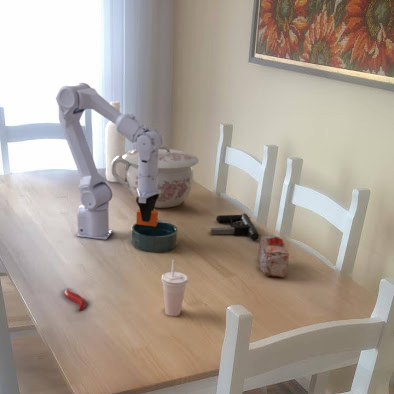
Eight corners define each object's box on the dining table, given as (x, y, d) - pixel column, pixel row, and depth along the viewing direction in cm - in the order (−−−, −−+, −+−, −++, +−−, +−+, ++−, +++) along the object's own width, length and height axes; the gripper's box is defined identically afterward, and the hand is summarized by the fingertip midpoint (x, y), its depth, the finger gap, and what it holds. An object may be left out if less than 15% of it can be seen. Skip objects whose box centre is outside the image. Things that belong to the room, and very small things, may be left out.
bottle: (103, 181, 234) (102, 102, 218) (109, 176, 240) (108, 99, 225) (122, 183, 233) (122, 104, 217) (127, 178, 240) (127, 101, 224)
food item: (288, 279, 164) (294, 247, 159) (261, 279, 163) (265, 246, 158) (278, 260, 175) (283, 230, 170) (252, 260, 175) (257, 229, 169)
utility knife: (136, 224, 174) (136, 211, 172) (138, 221, 176) (138, 208, 174) (165, 227, 173) (165, 214, 171) (167, 224, 176) (167, 212, 173)
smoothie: (159, 306, 145) (161, 254, 138) (184, 306, 146) (188, 255, 138) (160, 318, 140) (162, 265, 132) (186, 318, 140) (190, 266, 133)
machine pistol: (214, 234, 184) (263, 232, 186) (205, 213, 201) (250, 211, 203) (214, 243, 186) (262, 241, 188) (205, 222, 203) (249, 220, 204)
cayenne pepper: (88, 310, 141) (88, 303, 140) (69, 311, 139) (68, 304, 138) (81, 288, 150) (81, 282, 149) (63, 290, 149) (63, 283, 148)
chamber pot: (209, 202, 219) (213, 146, 208) (168, 220, 199) (171, 159, 188) (150, 187, 231) (151, 133, 220) (106, 202, 211) (105, 144, 200)
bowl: (126, 249, 175) (126, 233, 172) (137, 233, 187) (137, 218, 184) (172, 255, 173) (172, 239, 171) (180, 238, 185) (181, 223, 183)
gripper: (156, 182, 160) (154, 229, 168) (166, 169, 173) (164, 213, 180) (131, 179, 161) (131, 226, 168) (143, 167, 173) (142, 210, 181)
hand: (147, 219), depth 174 cm, fingers closed on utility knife, 3 cm apart
